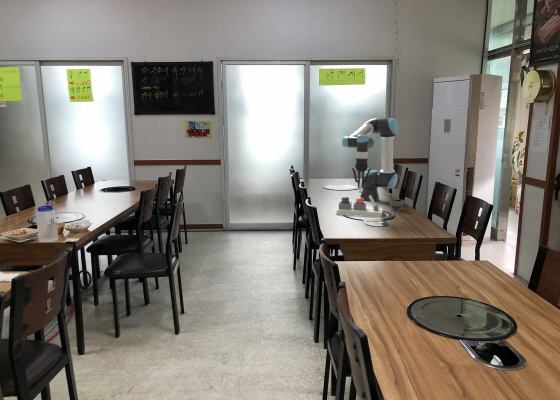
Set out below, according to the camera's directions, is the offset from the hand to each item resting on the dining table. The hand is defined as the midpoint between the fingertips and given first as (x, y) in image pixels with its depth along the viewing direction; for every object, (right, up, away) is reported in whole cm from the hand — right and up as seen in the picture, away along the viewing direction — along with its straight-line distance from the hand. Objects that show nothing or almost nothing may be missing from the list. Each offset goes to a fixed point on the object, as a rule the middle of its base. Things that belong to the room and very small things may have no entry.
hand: (360, 192), depth 309 cm
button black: (-10, -8, +4) cm, 13 cm away
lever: (+11, -11, -1) cm, 15 cm away
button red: (0, -9, +2) cm, 9 cm away
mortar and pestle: (+28, -12, +15) cm, 34 cm away
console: (0, -14, +3) cm, 15 cm away
